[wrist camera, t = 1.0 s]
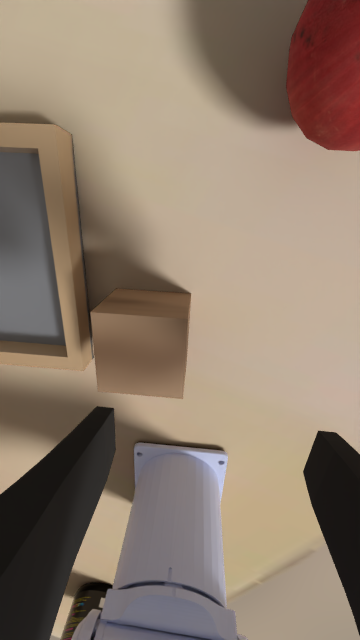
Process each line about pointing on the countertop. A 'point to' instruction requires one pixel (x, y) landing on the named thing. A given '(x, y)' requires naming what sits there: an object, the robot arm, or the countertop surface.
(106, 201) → the countertop surface
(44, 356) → the slate tray
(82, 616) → the supplement container
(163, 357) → the walnut block
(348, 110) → the onion
